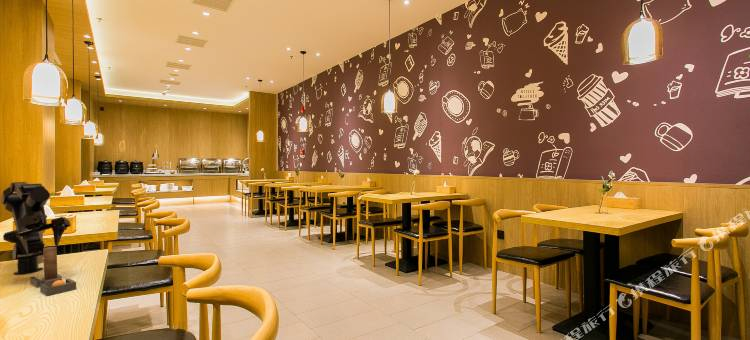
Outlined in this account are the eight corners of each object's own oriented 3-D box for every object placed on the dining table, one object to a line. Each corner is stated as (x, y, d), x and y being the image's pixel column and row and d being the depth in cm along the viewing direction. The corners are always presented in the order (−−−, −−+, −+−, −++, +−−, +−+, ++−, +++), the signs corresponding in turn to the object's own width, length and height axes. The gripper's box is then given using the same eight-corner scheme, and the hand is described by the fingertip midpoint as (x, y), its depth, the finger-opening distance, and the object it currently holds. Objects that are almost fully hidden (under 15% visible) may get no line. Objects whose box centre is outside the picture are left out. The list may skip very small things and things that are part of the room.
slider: (41, 284, 133) (40, 248, 133) (56, 281, 136) (55, 246, 136) (46, 288, 130) (44, 250, 129) (61, 284, 133) (60, 248, 133)
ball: (60, 292, 127) (57, 292, 129) (69, 283, 129) (66, 283, 131) (50, 287, 125) (47, 287, 127) (59, 277, 128) (56, 278, 130)
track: (30, 283, 137) (30, 277, 136) (54, 278, 142) (54, 272, 142) (36, 287, 132) (36, 281, 132) (61, 282, 137) (61, 276, 137)
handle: (29, 265, 161) (28, 231, 160) (32, 261, 166) (31, 228, 166) (44, 263, 163) (43, 229, 163) (47, 260, 169) (46, 227, 168)
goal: (40, 291, 127) (40, 284, 127) (69, 285, 134) (69, 278, 134) (46, 296, 123) (46, 288, 123) (76, 289, 130) (76, 282, 130)
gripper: (-10, 215, 132) (-4, 256, 128) (53, 198, 140) (61, 236, 135) (9, 223, 142) (15, 261, 138) (67, 207, 149) (75, 243, 145)
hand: (41, 250), depth 139 cm, fingers open, 9 cm apart
